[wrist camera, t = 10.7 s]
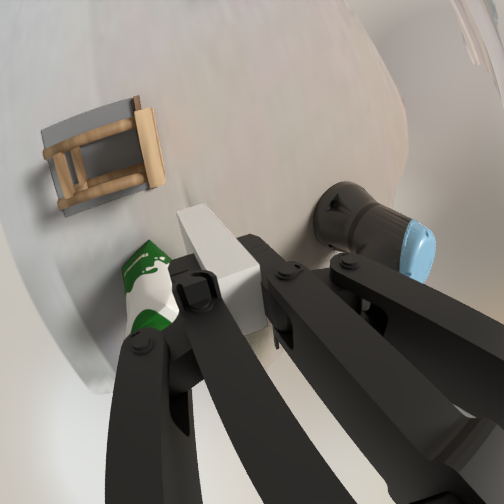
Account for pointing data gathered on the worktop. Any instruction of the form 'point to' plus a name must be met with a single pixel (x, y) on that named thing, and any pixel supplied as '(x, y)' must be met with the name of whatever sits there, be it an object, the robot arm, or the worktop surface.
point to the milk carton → (148, 290)
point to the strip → (138, 108)
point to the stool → (114, 180)
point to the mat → (97, 150)
